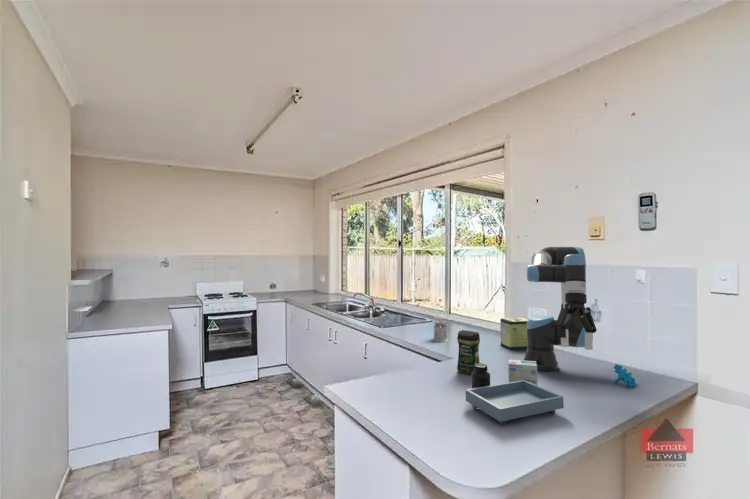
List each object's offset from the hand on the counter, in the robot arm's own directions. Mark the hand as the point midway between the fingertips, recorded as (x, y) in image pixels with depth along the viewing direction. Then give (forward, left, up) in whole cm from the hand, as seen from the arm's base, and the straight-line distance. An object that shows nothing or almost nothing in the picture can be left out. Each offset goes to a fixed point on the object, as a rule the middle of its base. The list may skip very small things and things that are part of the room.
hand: (577, 348), depth 149 cm
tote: (+4, -35, -17) cm, 39 cm away
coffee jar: (-37, -24, -17) cm, 47 cm away
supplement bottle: (-11, -37, -17) cm, 42 cm away
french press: (-97, -2, -17) cm, 98 cm away
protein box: (-64, +28, -17) cm, 72 cm away
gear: (+1, +25, -17) cm, 31 cm away
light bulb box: (-11, -17, -17) cm, 26 cm away
